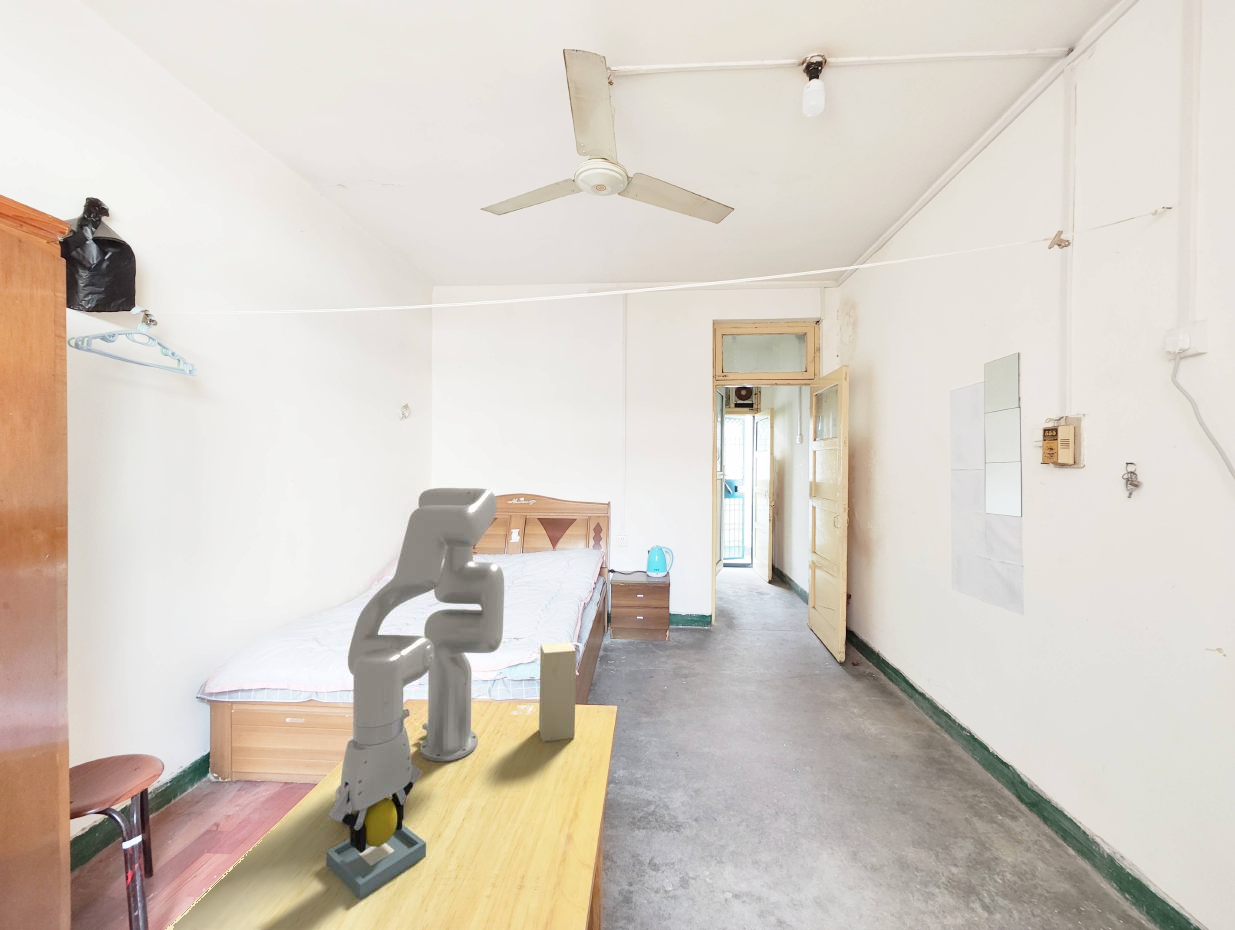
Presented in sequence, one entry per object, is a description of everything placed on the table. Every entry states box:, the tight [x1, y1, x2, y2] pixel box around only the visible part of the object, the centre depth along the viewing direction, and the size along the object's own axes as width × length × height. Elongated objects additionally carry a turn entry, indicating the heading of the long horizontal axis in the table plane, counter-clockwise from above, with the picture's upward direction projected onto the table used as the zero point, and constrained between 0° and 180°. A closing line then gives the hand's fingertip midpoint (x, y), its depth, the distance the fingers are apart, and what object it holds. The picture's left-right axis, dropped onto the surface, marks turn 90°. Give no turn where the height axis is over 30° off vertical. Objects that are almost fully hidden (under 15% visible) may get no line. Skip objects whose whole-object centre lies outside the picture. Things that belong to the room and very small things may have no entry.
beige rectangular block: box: [538, 641, 577, 742], centre depth 127 cm, size 8×7×21 cm
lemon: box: [363, 797, 397, 847], centre depth 85 cm, size 6×6×8 cm
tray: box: [325, 823, 427, 900], centre depth 85 cm, size 11×11×2 cm
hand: (377, 836), depth 85 cm, fingers closed on lemon, 5 cm apart
